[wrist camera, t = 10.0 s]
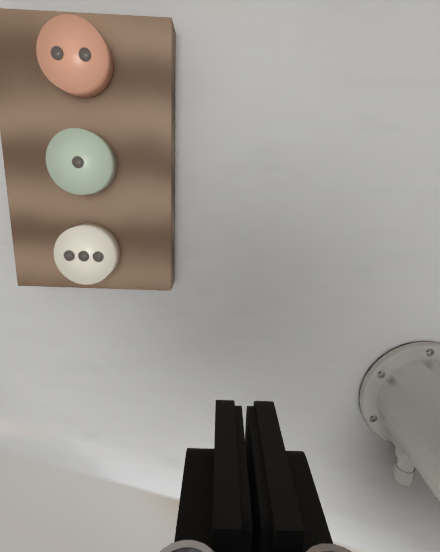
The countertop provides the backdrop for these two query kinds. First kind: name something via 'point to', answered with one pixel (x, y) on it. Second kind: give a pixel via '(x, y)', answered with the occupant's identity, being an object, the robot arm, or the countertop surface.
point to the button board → (110, 126)
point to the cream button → (86, 253)
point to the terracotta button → (74, 56)
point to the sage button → (81, 161)
